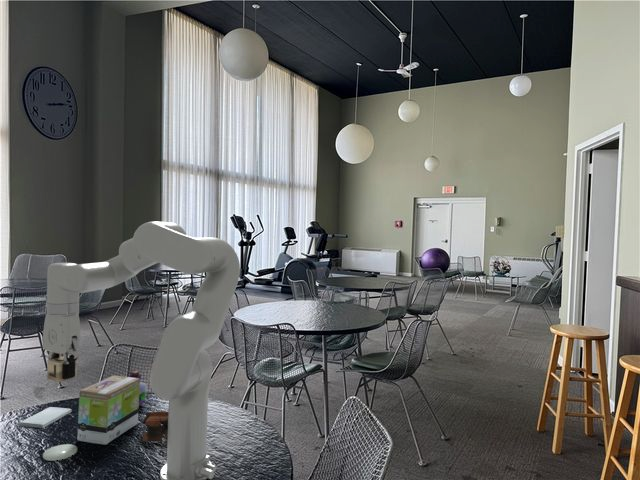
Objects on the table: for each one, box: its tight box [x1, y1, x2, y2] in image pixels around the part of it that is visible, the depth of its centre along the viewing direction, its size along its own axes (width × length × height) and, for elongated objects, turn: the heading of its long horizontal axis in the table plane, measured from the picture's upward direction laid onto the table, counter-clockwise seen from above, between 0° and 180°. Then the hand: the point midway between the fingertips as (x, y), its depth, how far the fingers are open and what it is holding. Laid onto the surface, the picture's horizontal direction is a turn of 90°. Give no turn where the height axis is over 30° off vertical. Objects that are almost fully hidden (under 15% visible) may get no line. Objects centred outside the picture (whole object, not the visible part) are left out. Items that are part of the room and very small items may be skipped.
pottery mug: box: [141, 411, 168, 443], centre depth 132 cm, size 12×10×8 cm
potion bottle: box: [127, 370, 148, 407], centre depth 153 cm, size 9×9×12 cm
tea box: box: [76, 375, 141, 446], centre depth 133 cm, size 15×10×15 cm, turn 168°
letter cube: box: [46, 356, 78, 383], centre depth 119 cm, size 5×5×5 cm
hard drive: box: [18, 406, 72, 429], centre depth 141 cm, size 2×8×12 cm
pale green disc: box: [42, 443, 78, 462], centre depth 120 cm, size 8×8×1 cm
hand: (62, 375), depth 120 cm, fingers closed on letter cube, 5 cm apart
